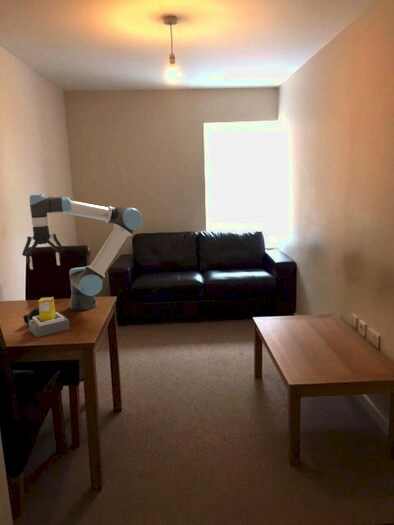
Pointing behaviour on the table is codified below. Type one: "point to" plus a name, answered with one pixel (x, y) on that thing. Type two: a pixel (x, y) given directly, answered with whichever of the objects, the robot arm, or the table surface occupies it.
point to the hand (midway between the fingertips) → (45, 267)
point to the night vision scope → (31, 315)
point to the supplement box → (46, 309)
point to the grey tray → (48, 325)
